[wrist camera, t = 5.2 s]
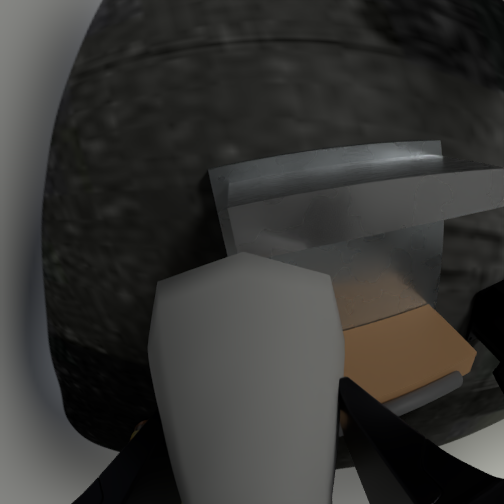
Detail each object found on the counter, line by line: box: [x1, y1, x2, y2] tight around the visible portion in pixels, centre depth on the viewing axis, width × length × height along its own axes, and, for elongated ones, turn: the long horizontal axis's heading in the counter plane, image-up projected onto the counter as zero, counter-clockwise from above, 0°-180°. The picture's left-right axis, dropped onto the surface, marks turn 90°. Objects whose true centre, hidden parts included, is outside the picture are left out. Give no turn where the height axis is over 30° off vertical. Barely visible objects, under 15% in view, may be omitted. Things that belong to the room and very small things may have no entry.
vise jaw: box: [339, 304, 477, 437], centre depth 17 cm, size 2×14×8 cm, turn 101°
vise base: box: [208, 140, 504, 331], centre depth 16 cm, size 17×16×8 cm
